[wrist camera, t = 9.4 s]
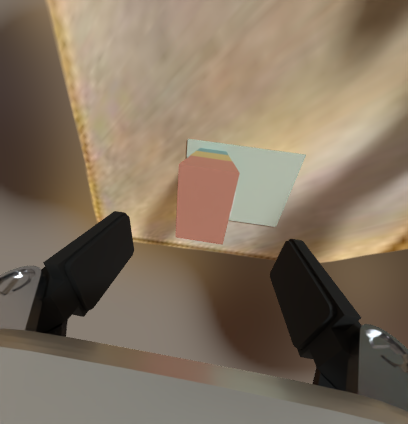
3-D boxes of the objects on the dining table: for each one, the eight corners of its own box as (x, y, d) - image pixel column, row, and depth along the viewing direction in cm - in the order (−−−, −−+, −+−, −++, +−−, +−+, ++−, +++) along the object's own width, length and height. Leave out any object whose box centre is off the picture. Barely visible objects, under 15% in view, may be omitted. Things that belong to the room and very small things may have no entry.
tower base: (200, 147, 28) (189, 155, 17) (226, 151, 28) (232, 161, 17) (196, 185, 31) (186, 211, 21) (219, 189, 31) (221, 216, 21)
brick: (190, 155, 17) (178, 164, 12) (232, 161, 17) (239, 173, 12) (186, 211, 21) (175, 237, 15) (221, 216, 21) (222, 244, 15)
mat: (188, 138, 28) (187, 138, 27) (304, 154, 27) (306, 154, 27) (183, 212, 35) (183, 213, 35) (275, 226, 35) (275, 227, 34)
